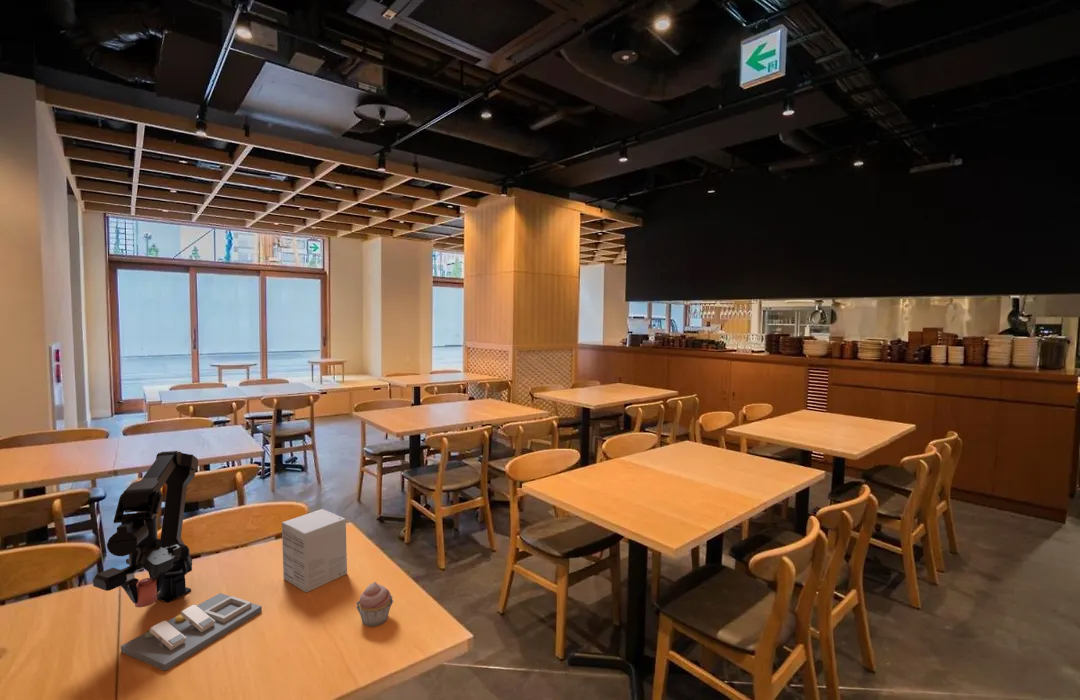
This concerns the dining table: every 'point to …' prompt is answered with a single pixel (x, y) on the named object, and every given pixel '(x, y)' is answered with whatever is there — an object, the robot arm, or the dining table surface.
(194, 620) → the block
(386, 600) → the cupcake
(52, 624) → the dining table surface
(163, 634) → the breaker
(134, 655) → the panel
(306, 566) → the supplement box
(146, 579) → the cap
